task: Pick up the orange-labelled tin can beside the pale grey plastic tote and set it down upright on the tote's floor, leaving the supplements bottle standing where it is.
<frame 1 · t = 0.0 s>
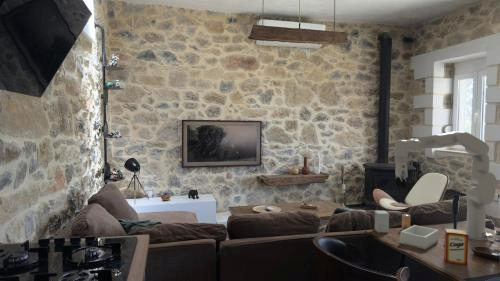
hand: (400, 186, 217), 31 cm above the table, tool pointing down, fingers open, 9 cm apart
supplement box: (381, 231, 227), on the table
baking soda box: (455, 262, 176), on the table
tote: (419, 242, 204), on the table
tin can: (405, 229, 229), on the table
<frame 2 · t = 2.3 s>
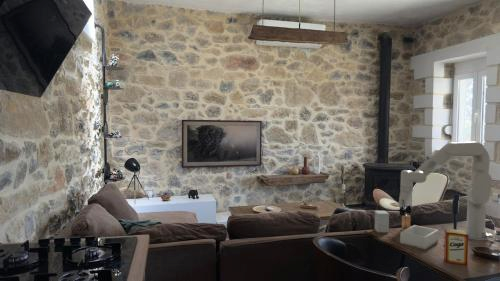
hand: (405, 214, 228), 10 cm above the table, tool pointing down, fingers open, 9 cm apart
nothing on the table moved.
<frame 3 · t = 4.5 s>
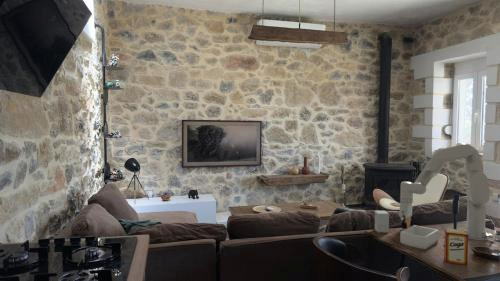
hand: (405, 226, 229), 2 cm above the table, tool pointing down, fingers closed on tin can, 5 cm apart
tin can: (405, 229, 229), on the table, touching gripper
everything else where it was.
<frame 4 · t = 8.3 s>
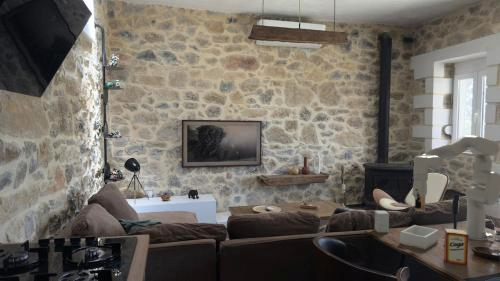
hand: (420, 206, 203), 21 cm above the table, tool pointing down, fingers closed on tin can, 5 cm apart
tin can: (419, 210, 203), point 19 cm above the table, touching gripper
everything else where it was.
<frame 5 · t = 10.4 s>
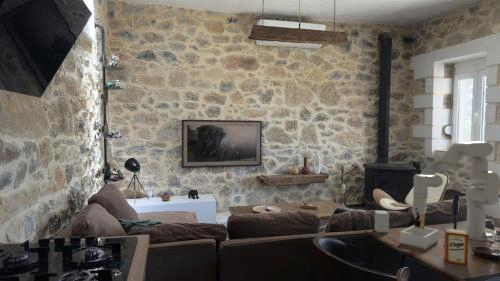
hand: (419, 225, 204), 10 cm above the table, tool pointing down, fingers closed on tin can, 5 cm apart
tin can: (419, 228, 204), point 8 cm above the table, touching gripper
everything else where it was.
when the fingers open (4 cm above the table, at t = 12.4 s): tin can drops 1 cm, resting on tote.
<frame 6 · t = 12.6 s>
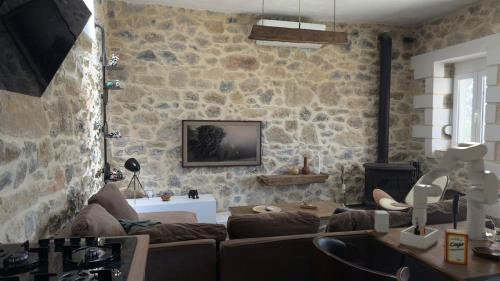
hand: (419, 234, 204), 5 cm above the table, tool pointing down, fingers open, 6 cm apart
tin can: (419, 240, 204), point 1 cm above the table, touching tote
everything else where it was.
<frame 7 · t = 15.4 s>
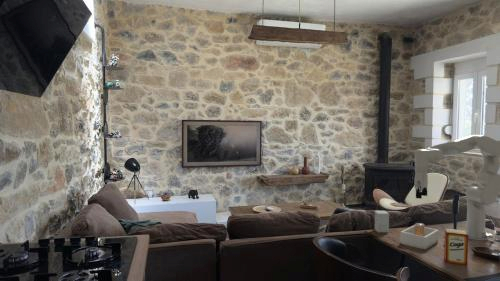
hand: (421, 196, 211), 26 cm above the table, tool pointing down, fingers open, 9 cm apart
nothing on the table moved.
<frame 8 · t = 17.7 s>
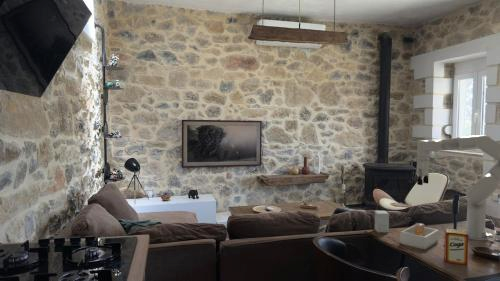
hand: (422, 184, 230), 30 cm above the table, tool pointing down, fingers open, 9 cm apart
nothing on the table moved.
at the end: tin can inside the target area on the tote (0.1 cm from its centre), point 1.0 cm above the tote's base; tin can tilted 0°; the gripper is holding nothing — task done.
